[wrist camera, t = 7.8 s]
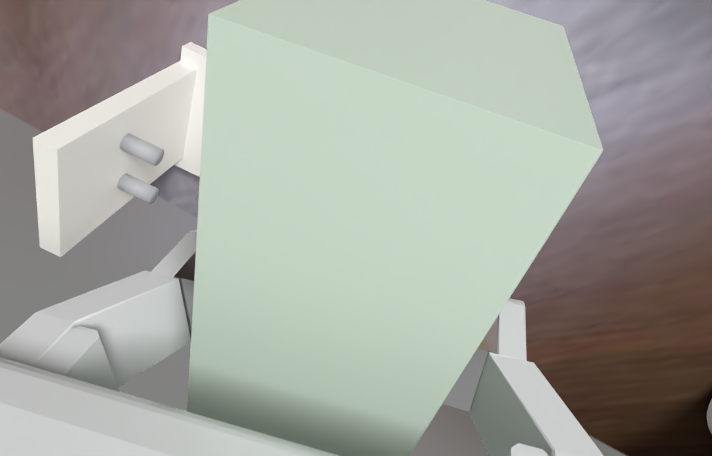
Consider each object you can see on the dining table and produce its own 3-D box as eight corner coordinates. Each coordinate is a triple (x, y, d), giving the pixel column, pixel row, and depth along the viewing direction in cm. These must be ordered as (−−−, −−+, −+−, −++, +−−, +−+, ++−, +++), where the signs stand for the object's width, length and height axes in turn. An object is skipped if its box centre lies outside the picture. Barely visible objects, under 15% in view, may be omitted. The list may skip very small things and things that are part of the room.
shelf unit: (416, 150, 32) (367, 280, 21) (366, 247, 37) (307, 387, 27) (190, 41, 31) (31, 118, 21) (173, 155, 37) (40, 259, 27)
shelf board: (347, -45, 9) (208, 13, 5) (563, 25, 9) (603, 149, 5) (264, 356, 16) (181, 511, 12) (379, 401, 16) (333, 574, 12)
